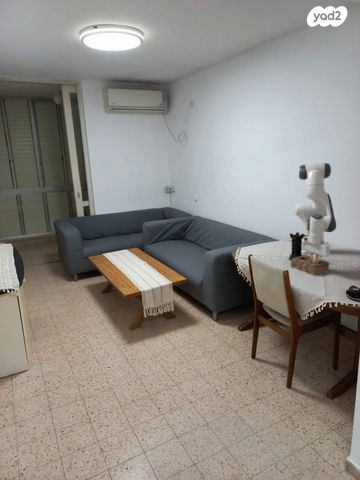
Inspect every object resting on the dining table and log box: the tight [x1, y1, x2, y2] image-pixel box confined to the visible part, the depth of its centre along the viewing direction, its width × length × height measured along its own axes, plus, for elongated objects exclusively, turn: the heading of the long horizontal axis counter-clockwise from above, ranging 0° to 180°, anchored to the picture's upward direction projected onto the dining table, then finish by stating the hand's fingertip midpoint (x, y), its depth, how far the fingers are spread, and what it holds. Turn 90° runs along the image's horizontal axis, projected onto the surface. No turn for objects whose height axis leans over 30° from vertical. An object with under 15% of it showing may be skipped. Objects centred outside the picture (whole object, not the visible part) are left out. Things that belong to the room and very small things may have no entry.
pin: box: [313, 253, 319, 264], centre depth 220 cm, size 4×4×10 cm
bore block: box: [290, 254, 330, 276], centre depth 226 cm, size 20×14×6 cm
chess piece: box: [287, 231, 304, 261], centre depth 242 cm, size 8×8×20 cm
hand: (315, 259), depth 220 cm, fingers open, 4 cm apart
